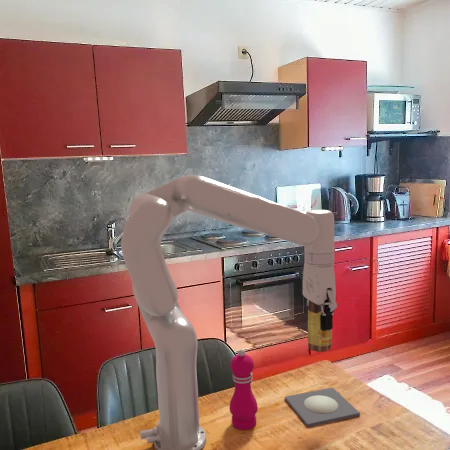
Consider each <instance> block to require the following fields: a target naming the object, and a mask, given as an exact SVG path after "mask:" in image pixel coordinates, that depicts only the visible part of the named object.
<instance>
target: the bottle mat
mask: <svg viewBox="0 0 450 450" xmlns="http://www.w3.org/2000/svg"><path fill="white" fill-rule="evenodd" d="M284 400H285V401H286V402H287V404H288V405H289V407H291V409H292V410H293V411H294V413H295V414H296V415H297V416H298V417H299V419H301V421H302V422H303V423H304V424H305V426H306V427H307V428H309V427H315V426H319V425H322V424H328V423H333V422H336V421H341V420H345V419H349V418H351V419H352V418H355V417H359V416H361V412H360V411H359V410H357V409H356V407H354V406H353V404H351V403H350V402H349V401H348V400H347V399H346V398H345V397H343V395H341V394H340V392H338V391H337V390H336V389H335V388H334V387H328V388H321V389H318V390H313V391H308V392H304V393H303V392H302V393H297V394H292V395H287V396H284Z"/></svg>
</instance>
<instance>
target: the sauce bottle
mask: <svg viewBox="0 0 450 450" xmlns="http://www.w3.org/2000/svg"><path fill="white" fill-rule="evenodd" d="M327 302H328V300H325V302H324V303H327ZM308 304H309V306H308V307H309V308H308V307H307V343H308V345H307V346H308V348H309V350H311V351H314V352H318V353H325V352H328V351H331V348H332V343H333V328H332V329H329V330H323V331H322V330H321V329H320V315H322V312H321V307H320V305H317V304H315V303H313V302H312V301H310V300H309V303H308ZM324 307H325V309H326V308H327V307H328V305H324Z"/></svg>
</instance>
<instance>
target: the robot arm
mask: <svg viewBox="0 0 450 450" xmlns="http://www.w3.org/2000/svg"><path fill="white" fill-rule="evenodd" d="M188 211H190V212H192V213H195V214H198V215H201V216H204V217H208V218H211V219H213V220H215V221H220V222H223V223H226V224H228V225H230V226H231V225H232V226H235V227H238V228H241V229H244V230H247V231H253V232H257V233H260V234H265V235H268V236H271V237H274V238H277V239H279V240H283V241H287V242H288V243H292V244H296V245H298V246H304V265H303V271H302V295H303V296H304V298H305V299H306V306H307V309H308V308H309V304H308V303H309V300H310V301H312V302H313V303H315V304H317V305H320V307H321V312H322V315H320V329H321V330H322V331H323V330H329V329H332V330H333V325H334V324H333V315H334V314H335V313H334V312H335V310H336V309H337V308H338V303H337V301H336V298H337V297H336V295H337V293H336V292H337V291H336V290H337V289H336V275H335V268H334V265H335V215H334V213H333V212H332V211H331V210H327V209H313V210H312V209H311V210H307V211H300V210H298V209H294V208H291V207H288V206H285V205H283V204H280V203H277V202H274V201H272V200H268V199H266V198H264V197H261V196H259V195H256V194H253V193H251V192H248V191H246V190H242V189H239V188H237V187H233V186H231V185H229V184H228V185H227V184H225V183H223V182H219V181H217V180H214V179H211V178H208V177H206V176H202V175H195V174H186V175H183V176H180V177H178V178H176V179H174V180H172V181H169V182H167V183H165V184H163V185H160V186H158V187H156V188H153V189H151V190H149V191H147V192H146V191H145V192H144V193H142V194H140V195H138V196H137V197H135V198H134V199H133V200H132V202H131V204H130V206H129V210H128V214H129V218H128V220H127V222H126V224H125V226H124V228H123V232H122V235H121V242H120V244H121V245H120V246H121V248H120V249H121V254H122V257H123V261H124V264H125V267H126V269H127V271H128V275H129V278H130V280H131V283H132V285H131V286H132V294H133V296H134V299H135V301H136V304H137V305H138V309H139V311H140V314H141V315H142V318H143V321H144V323H145V326H146V327H147V330H148V332H149V335H150V336H151V339H152V341H153V342H154V347H155V372H156V373H155V376H156V378H155V379H156V389H157V402H158V403H157V404H158V421H157V422H156V424H157V426H153V428H149V429H144V430H140V431H139V432H140V439H141V441H142V440H146V442H147V445H148V444H151V443H153V445H154V449H155V450H202V448H203V447H204V446H205V445H206V443H207V432H206V430H205V429H204V428H203V427H202V426H201V425H200V413H199V412H200V411H199V392H198V389H199V388H198V376H197V357H198V356H197V355H198V336H197V333H196V332H197V331H196V330H195V327H194V325H193V324H192V322H191V321H190V320H189V318H187V316H186V315H185V314H184V312H183V311H182V309H181V305H180V304H179V291H178V287H177V285H176V284H175V282H174V279H173V278H172V275H171V272H170V270H169V268H168V265H167V262H166V259H165V256H164V254H163V251H162V246H161V245H162V239H163V237H164V235H165V233H166V232H167V230H168V229H169V227H170V225H171V223H172V220H173V218H175V217H178V216H180V215H182V214H184V213H186V212H188ZM325 300H328V302H327V303H324V302H325ZM324 305H328V307H327V308H326V309H325V307H324Z"/></svg>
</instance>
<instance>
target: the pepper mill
mask: <svg viewBox="0 0 450 450" xmlns="http://www.w3.org/2000/svg"><path fill="white" fill-rule="evenodd" d="M229 367H230V371H231V372H232V380H233V382H234V391H233V394H232V397H230V403H229V412H230V414H231V424H232V426H233V427H234V429H237V430H240V431H248V430H251V429H253V428H254V427H256V425H257V415H256V414H257V413H258V411H259V410H258V402H257V398H256V397H255V395H254V392H253V390H252V387H251V386H252V384H251V382H252V380H253V371H254V369H255V362H254V359H253V358H252V357H251V356H250V355H248V354H246V351H245V349H243V348H241V349H239V350H238V352H237V354H236V355H234V356H233V357H232V358H231V361H230V365H229Z"/></svg>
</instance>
